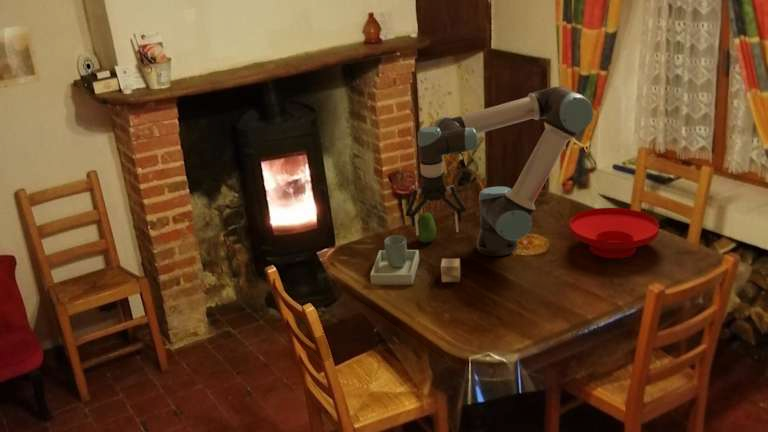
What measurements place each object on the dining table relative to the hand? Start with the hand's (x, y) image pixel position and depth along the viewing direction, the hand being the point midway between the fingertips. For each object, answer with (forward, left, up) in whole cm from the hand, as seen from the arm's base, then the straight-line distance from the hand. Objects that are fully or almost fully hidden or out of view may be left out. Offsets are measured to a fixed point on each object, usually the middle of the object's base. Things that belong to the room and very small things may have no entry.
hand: (437, 232), depth 279 cm
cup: (+16, -6, -16) cm, 23 cm away
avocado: (+8, -28, -17) cm, 33 cm away
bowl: (-60, -20, -17) cm, 65 cm away
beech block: (-4, +2, -17) cm, 17 cm away
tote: (+16, -2, -16) cm, 23 cm away
